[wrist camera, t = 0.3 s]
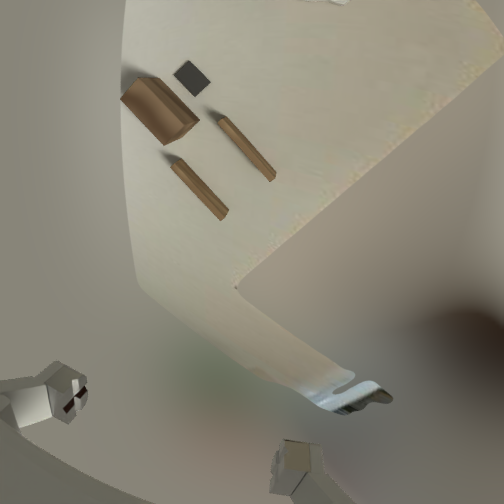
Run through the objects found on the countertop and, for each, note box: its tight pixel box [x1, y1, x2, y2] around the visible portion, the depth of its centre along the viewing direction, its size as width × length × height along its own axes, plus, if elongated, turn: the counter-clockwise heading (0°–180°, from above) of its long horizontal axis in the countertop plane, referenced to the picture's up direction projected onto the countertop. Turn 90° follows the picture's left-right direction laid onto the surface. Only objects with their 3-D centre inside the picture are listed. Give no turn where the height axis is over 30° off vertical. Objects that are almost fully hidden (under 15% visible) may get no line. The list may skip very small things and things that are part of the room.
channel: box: [170, 117, 276, 221], centre depth 55 cm, size 13×14×4 cm
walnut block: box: [120, 78, 200, 146], centre depth 48 cm, size 5×12×9 cm, turn 41°
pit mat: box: [174, 61, 211, 96], centre depth 49 cm, size 4×6×1 cm, turn 41°
